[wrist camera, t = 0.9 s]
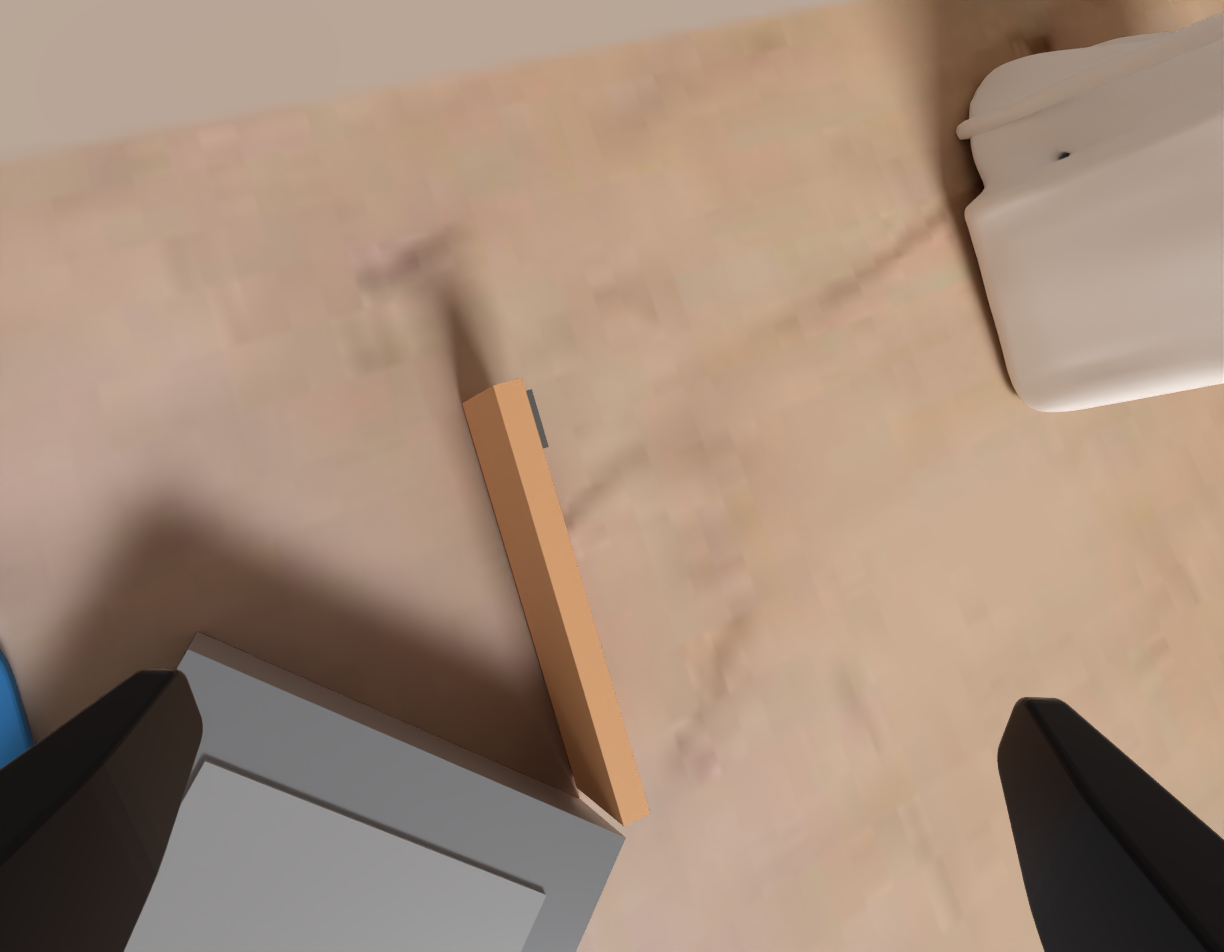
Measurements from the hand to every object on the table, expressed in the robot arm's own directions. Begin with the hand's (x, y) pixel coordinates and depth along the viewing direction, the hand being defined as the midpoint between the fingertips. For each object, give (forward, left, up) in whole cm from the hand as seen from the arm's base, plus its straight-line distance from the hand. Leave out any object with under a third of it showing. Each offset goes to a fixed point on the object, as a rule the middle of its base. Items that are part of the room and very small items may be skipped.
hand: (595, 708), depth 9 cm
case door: (+2, -4, -16) cm, 17 cm away
